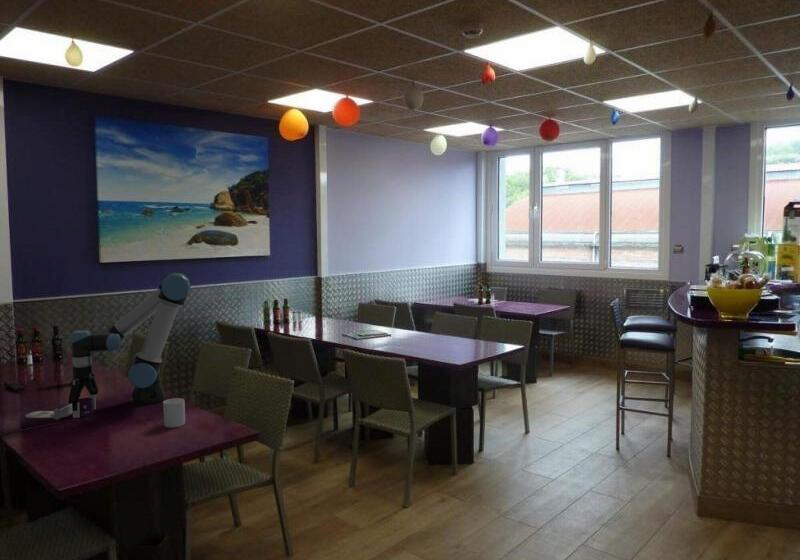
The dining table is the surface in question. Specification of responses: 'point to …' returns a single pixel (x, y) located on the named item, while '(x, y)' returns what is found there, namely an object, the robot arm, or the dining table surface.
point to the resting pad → (44, 414)
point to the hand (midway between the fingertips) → (84, 413)
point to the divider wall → (62, 411)
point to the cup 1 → (86, 406)
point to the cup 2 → (174, 412)
